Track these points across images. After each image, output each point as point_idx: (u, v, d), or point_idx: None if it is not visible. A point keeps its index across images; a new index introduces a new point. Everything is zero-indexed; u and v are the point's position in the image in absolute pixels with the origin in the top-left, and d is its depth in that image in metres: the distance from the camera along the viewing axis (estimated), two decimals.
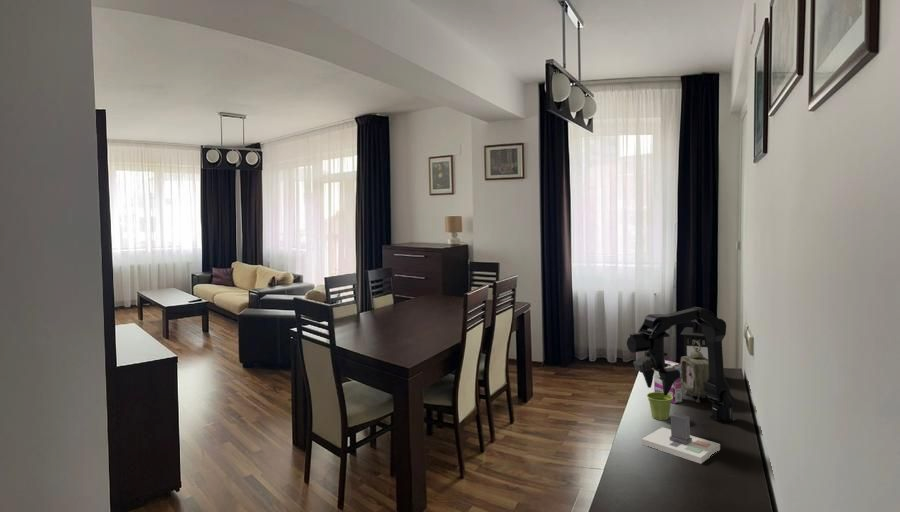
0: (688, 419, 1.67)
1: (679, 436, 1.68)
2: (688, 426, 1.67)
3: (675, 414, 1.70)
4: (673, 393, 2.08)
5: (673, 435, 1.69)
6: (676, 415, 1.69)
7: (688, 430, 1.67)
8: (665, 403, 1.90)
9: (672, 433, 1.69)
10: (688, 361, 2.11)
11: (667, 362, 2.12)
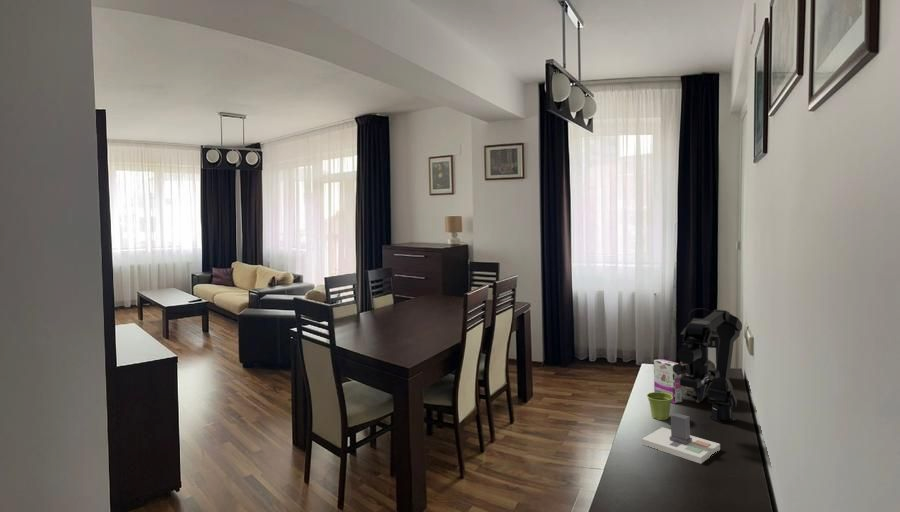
0: (688, 419, 1.67)
1: (679, 436, 1.68)
2: (688, 426, 1.67)
3: (675, 414, 1.70)
4: (673, 393, 2.08)
5: (673, 435, 1.69)
6: (676, 415, 1.69)
7: (688, 430, 1.67)
8: (665, 403, 1.90)
9: (672, 433, 1.69)
10: None
11: (667, 362, 2.12)
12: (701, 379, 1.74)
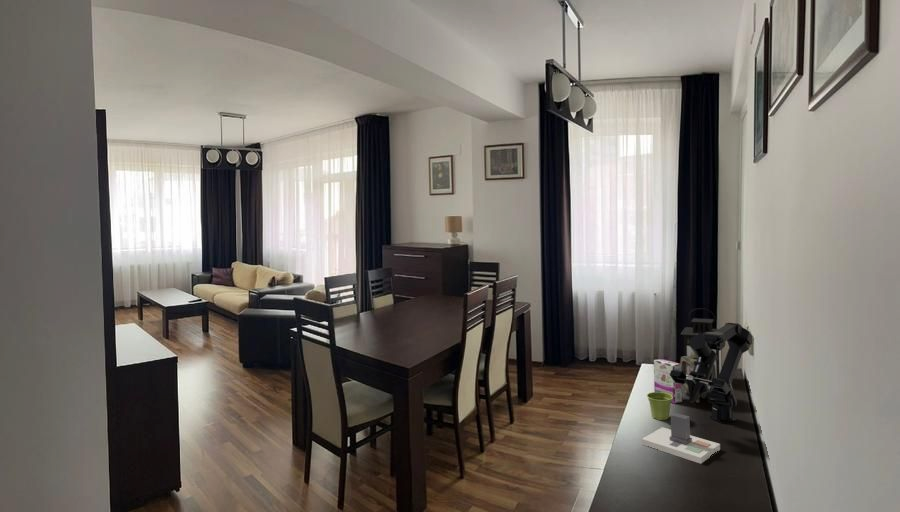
0: (688, 419, 1.67)
1: (679, 436, 1.68)
2: (688, 426, 1.67)
3: (675, 414, 1.70)
4: (673, 393, 2.08)
5: (673, 435, 1.69)
6: (676, 415, 1.69)
7: (688, 430, 1.67)
8: (665, 403, 1.90)
9: (672, 433, 1.69)
10: (688, 361, 2.11)
11: (667, 362, 2.12)
12: (689, 376, 1.78)
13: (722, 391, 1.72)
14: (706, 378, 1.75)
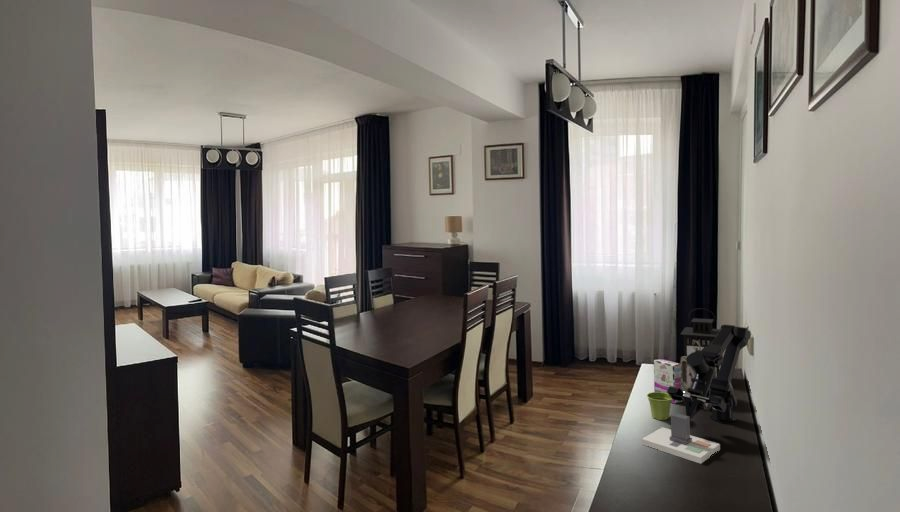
0: (688, 419, 1.67)
1: (679, 436, 1.68)
2: (688, 426, 1.67)
3: (675, 414, 1.70)
4: None
5: (673, 435, 1.69)
6: (676, 415, 1.69)
7: (688, 430, 1.67)
8: (665, 403, 1.90)
9: (672, 433, 1.69)
10: None
11: (667, 362, 2.12)
12: (686, 393, 1.77)
13: (719, 409, 1.71)
14: (703, 395, 1.74)
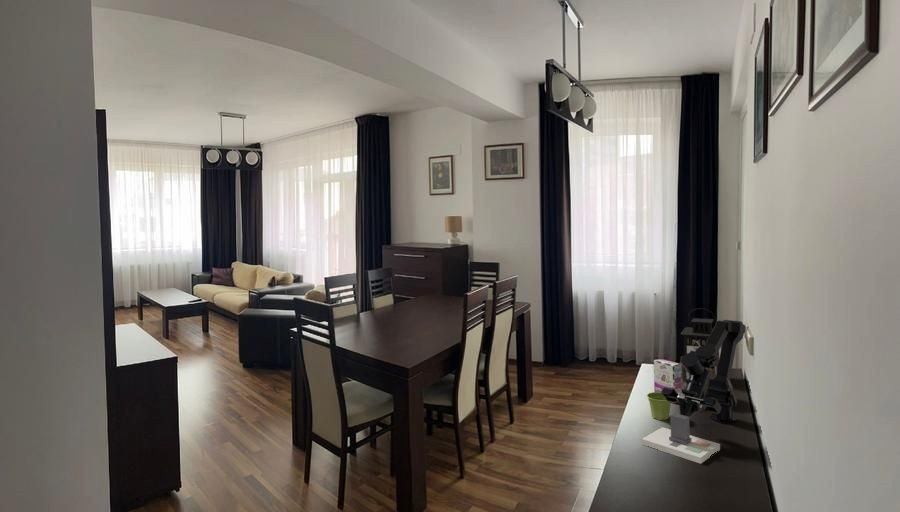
0: (688, 419, 1.67)
1: (679, 436, 1.67)
2: (688, 426, 1.67)
3: (675, 414, 1.70)
4: None
5: (673, 435, 1.69)
6: (676, 415, 1.69)
7: (688, 430, 1.67)
8: (665, 403, 1.90)
9: (672, 433, 1.69)
10: None
11: (667, 362, 2.12)
12: None
13: (714, 410, 1.68)
14: (698, 397, 1.71)
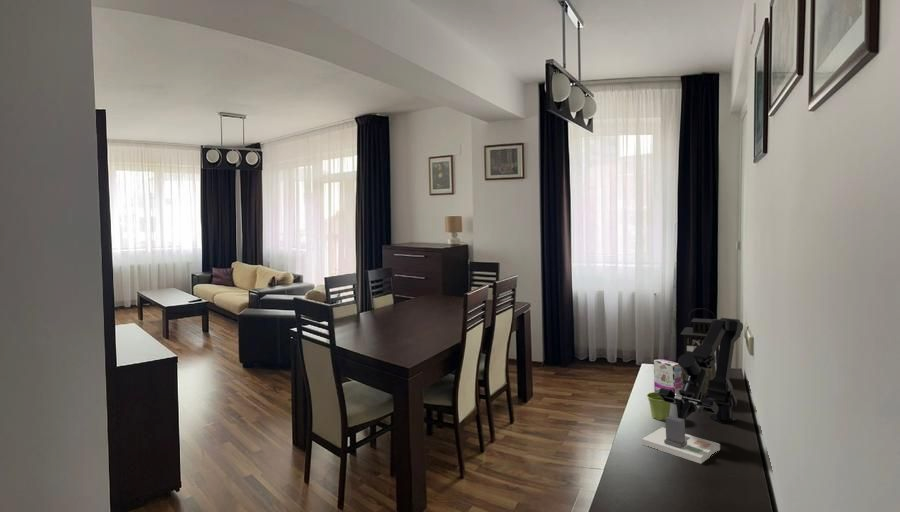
0: (683, 422, 1.65)
1: (674, 439, 1.65)
2: (683, 429, 1.65)
3: (670, 417, 1.68)
4: None
5: (668, 438, 1.67)
6: (671, 418, 1.67)
7: (683, 433, 1.65)
8: (665, 403, 1.90)
9: (667, 436, 1.67)
10: None
11: (667, 362, 2.12)
12: (678, 395, 1.73)
13: (711, 411, 1.67)
14: (695, 397, 1.70)
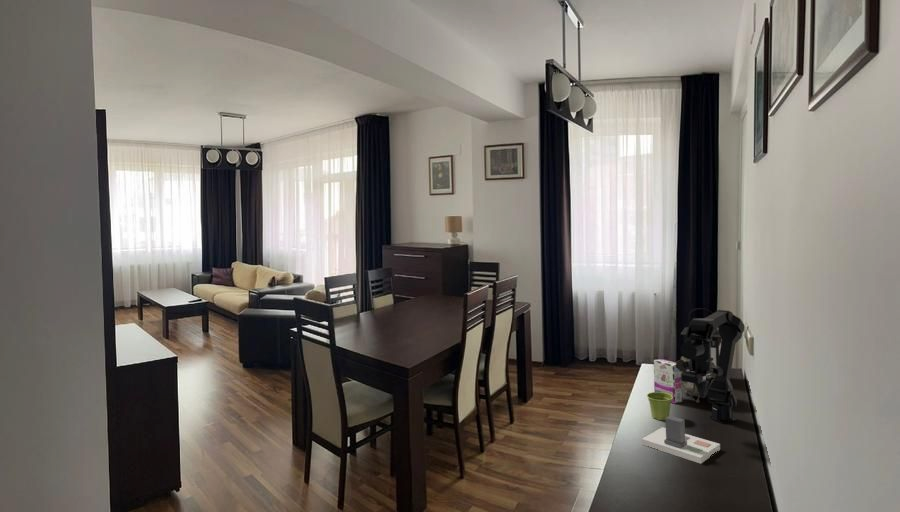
0: (683, 422, 1.65)
1: (674, 439, 1.65)
2: (683, 429, 1.65)
3: (670, 417, 1.68)
4: (673, 393, 2.08)
5: (668, 438, 1.67)
6: (671, 418, 1.67)
7: (683, 433, 1.65)
8: (665, 403, 1.90)
9: (667, 436, 1.67)
10: None
11: (667, 362, 2.12)
12: (703, 375, 1.75)
13: None
14: None
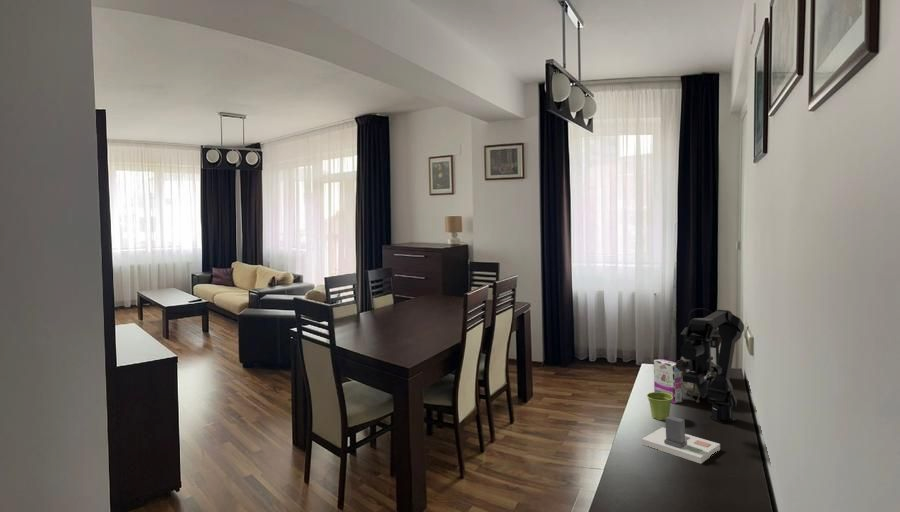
0: (683, 422, 1.65)
1: (674, 439, 1.65)
2: (683, 429, 1.65)
3: (670, 417, 1.68)
4: (673, 393, 2.08)
5: (668, 438, 1.67)
6: (671, 418, 1.67)
7: (683, 433, 1.65)
8: (665, 403, 1.90)
9: (667, 436, 1.67)
10: None
11: (667, 362, 2.12)
12: (703, 375, 1.75)
13: None
14: None
